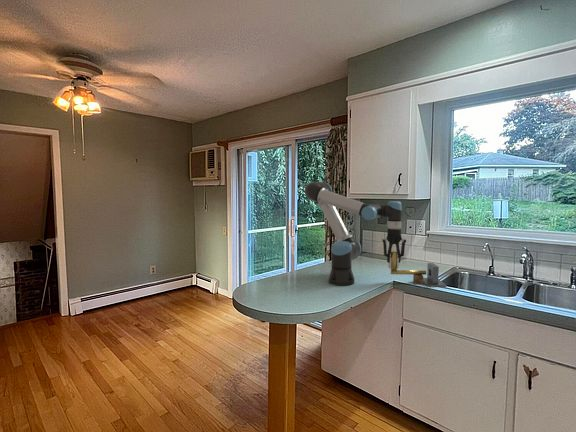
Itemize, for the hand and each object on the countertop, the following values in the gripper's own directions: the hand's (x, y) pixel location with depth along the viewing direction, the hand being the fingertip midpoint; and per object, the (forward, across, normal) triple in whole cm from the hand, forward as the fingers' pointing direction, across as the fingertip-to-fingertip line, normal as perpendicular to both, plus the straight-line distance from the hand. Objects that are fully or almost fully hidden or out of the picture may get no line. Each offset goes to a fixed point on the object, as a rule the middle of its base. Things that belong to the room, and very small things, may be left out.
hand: (393, 268), depth 184 cm
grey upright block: (+8, +22, 0) cm, 24 cm away
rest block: (+8, +14, 0) cm, 16 cm away
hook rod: (+4, +8, 0) cm, 9 cm away
